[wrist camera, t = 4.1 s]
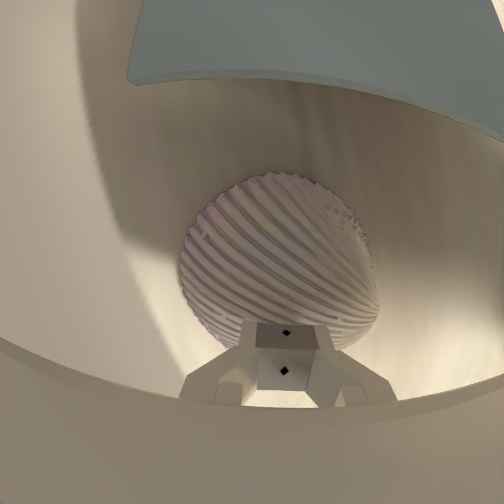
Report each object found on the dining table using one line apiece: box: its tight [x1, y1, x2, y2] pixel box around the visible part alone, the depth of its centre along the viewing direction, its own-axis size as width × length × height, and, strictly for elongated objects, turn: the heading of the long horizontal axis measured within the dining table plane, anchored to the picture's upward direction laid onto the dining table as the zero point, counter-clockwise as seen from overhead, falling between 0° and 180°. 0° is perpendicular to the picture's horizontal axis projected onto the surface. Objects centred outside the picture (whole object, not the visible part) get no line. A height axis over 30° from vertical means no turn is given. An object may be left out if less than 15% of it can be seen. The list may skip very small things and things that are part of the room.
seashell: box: [180, 171, 380, 351], centre depth 12 cm, size 10×6×10 cm
